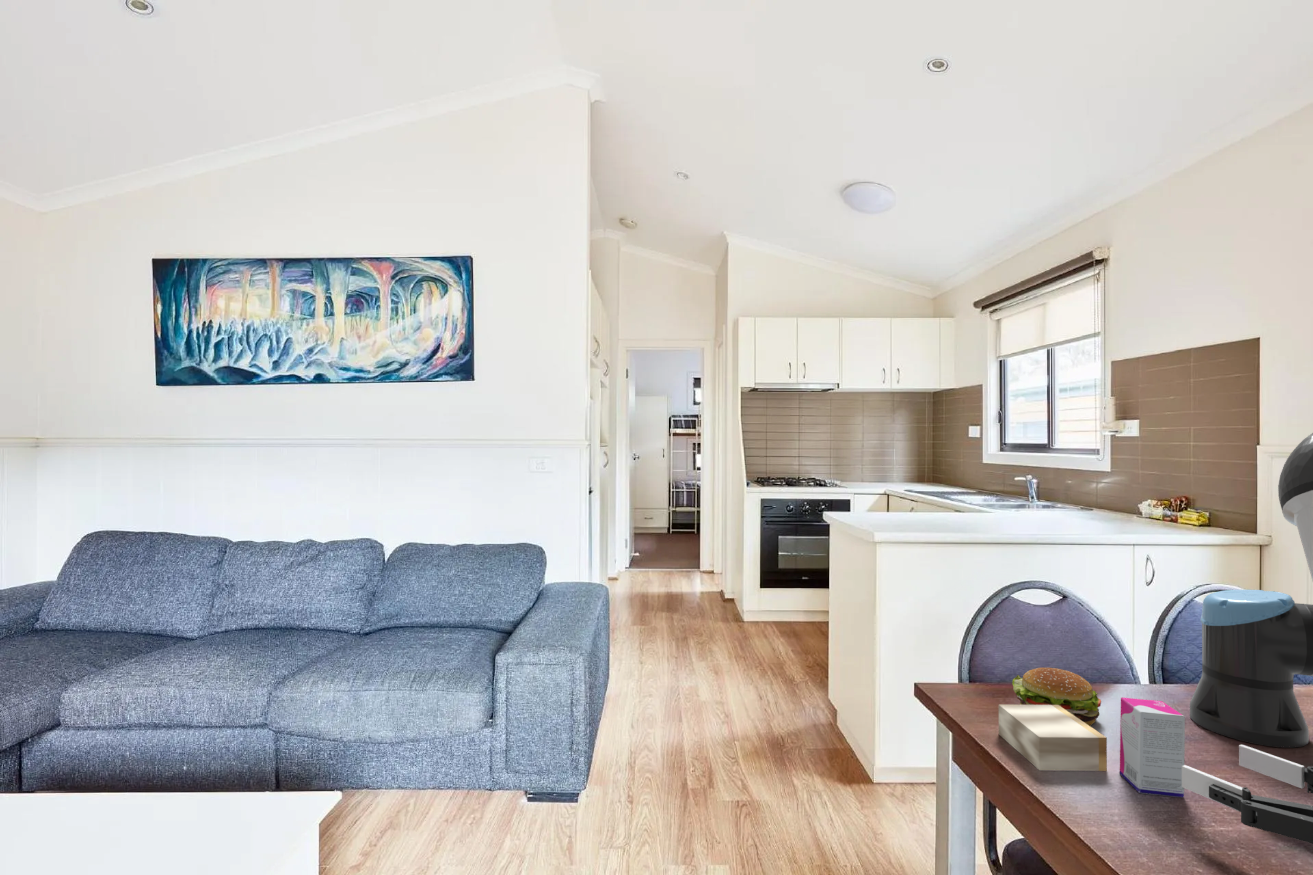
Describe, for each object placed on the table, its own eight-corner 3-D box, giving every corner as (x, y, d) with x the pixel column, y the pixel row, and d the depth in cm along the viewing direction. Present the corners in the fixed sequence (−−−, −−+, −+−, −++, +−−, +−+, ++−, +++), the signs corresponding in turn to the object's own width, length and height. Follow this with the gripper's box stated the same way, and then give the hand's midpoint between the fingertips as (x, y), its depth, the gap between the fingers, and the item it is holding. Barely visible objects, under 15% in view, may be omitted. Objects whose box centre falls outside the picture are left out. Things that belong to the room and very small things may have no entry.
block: (1106, 770, 97) (1106, 737, 97) (1039, 770, 97) (1039, 737, 97) (1058, 734, 109) (1058, 704, 109) (998, 734, 109) (998, 704, 109)
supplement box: (1186, 798, 89) (1186, 715, 89) (1138, 793, 91) (1138, 712, 91) (1163, 777, 95) (1162, 699, 95) (1117, 772, 96) (1117, 696, 96)
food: (1021, 693, 127) (1021, 652, 127) (1107, 714, 117) (1107, 670, 117) (999, 714, 117) (999, 670, 117) (1091, 739, 107) (1091, 691, 107)
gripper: (1407, 933, 61) (1157, 815, 81) (1504, 863, 72) (1262, 773, 91) (1406, 854, 61) (1157, 755, 81) (1504, 795, 72) (1261, 719, 91)
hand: (1212, 764), depth 86 cm, fingers open, 13 cm apart
